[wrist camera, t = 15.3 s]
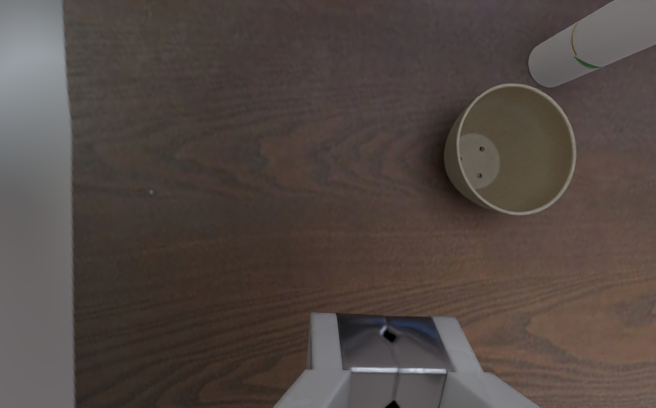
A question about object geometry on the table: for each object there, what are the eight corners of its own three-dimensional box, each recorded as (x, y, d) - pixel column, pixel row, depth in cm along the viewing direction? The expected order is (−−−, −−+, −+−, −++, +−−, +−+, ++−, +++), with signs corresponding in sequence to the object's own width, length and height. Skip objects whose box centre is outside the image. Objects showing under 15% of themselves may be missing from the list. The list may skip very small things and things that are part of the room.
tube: (520, 56, 42) (670, -32, 28) (553, 35, 43) (716, -61, 29) (542, 95, 43) (702, 29, 28) (575, 74, 44) (748, -2, 29)
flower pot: (535, 137, 42) (594, 120, 35) (495, 234, 41) (548, 237, 34) (445, 87, 41) (488, 59, 34) (401, 186, 40) (436, 178, 33)
